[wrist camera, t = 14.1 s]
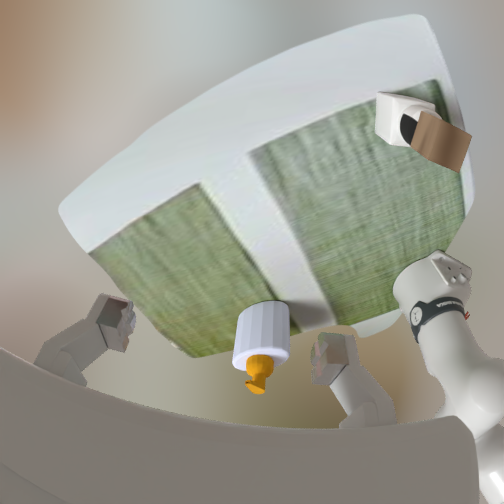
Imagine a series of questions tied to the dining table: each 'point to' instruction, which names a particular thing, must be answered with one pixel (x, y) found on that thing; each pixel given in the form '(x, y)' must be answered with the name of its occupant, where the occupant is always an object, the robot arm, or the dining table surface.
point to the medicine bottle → (399, 117)
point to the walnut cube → (440, 141)
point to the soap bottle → (262, 341)
